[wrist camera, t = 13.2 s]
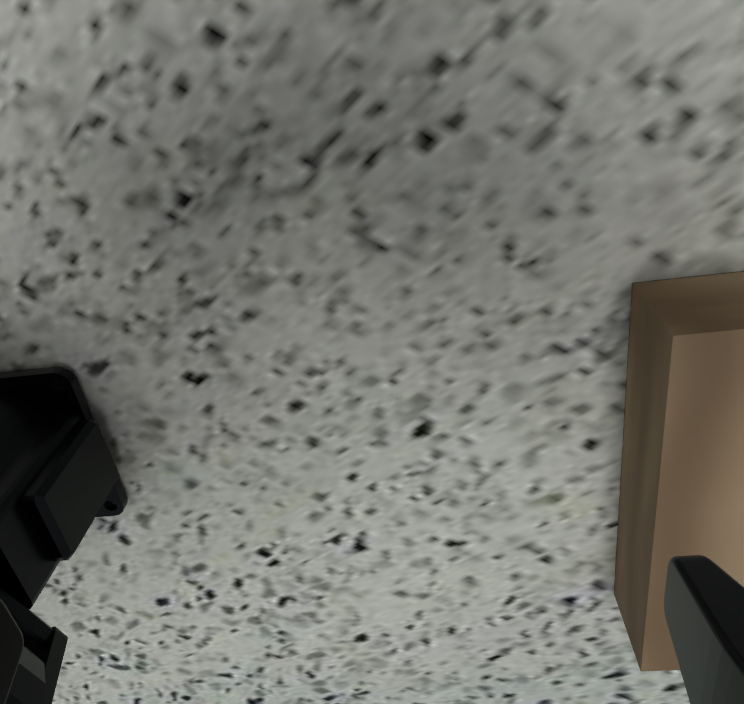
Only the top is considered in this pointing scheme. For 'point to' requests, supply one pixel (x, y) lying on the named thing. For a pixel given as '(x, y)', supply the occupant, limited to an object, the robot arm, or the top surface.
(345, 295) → the top surface
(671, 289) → the walnut plinth
